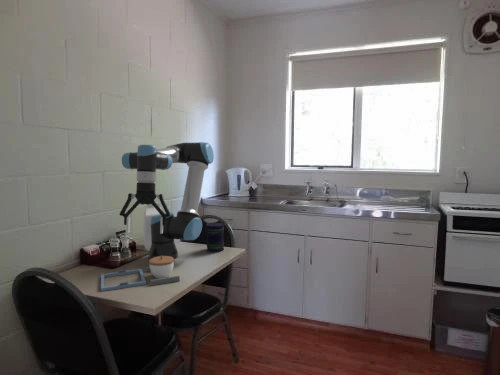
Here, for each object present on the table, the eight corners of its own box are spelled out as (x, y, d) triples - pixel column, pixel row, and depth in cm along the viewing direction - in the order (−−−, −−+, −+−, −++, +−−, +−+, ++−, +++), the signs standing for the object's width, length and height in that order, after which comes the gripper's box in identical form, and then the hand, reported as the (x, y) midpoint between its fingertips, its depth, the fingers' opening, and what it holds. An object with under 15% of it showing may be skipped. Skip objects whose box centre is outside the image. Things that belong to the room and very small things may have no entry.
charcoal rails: (171, 267, 163) (171, 263, 163) (179, 281, 147) (179, 276, 146) (146, 271, 159) (145, 267, 159) (150, 285, 142) (150, 280, 142)
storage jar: (208, 247, 198) (207, 222, 197) (225, 247, 198) (224, 222, 196) (205, 252, 188) (204, 226, 187) (223, 252, 188) (222, 226, 186)
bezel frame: (141, 271, 159) (141, 267, 159) (145, 284, 143) (145, 279, 143) (101, 276, 152) (101, 272, 152) (100, 291, 136) (100, 286, 136)
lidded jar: (146, 275, 154) (145, 255, 153) (168, 270, 160) (168, 251, 159) (154, 282, 145) (154, 261, 144) (178, 277, 151) (177, 256, 150)
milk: (145, 249, 195) (143, 204, 192) (143, 244, 206) (141, 202, 203) (166, 247, 200) (165, 203, 197) (163, 242, 210) (162, 200, 208)
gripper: (112, 181, 136) (111, 234, 136) (175, 182, 139) (174, 234, 139) (117, 181, 144) (116, 231, 144) (177, 183, 146) (176, 232, 146)
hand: (144, 233), depth 141 cm, fingers open, 13 cm apart
